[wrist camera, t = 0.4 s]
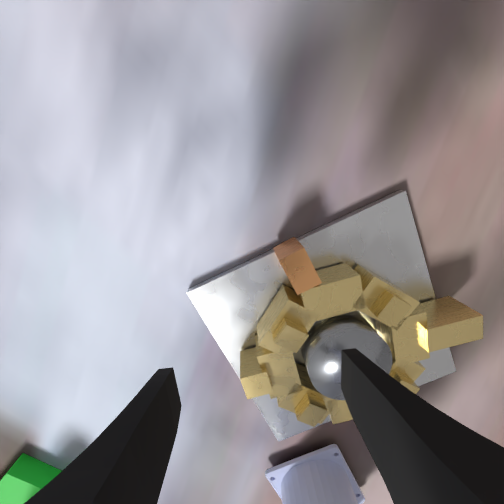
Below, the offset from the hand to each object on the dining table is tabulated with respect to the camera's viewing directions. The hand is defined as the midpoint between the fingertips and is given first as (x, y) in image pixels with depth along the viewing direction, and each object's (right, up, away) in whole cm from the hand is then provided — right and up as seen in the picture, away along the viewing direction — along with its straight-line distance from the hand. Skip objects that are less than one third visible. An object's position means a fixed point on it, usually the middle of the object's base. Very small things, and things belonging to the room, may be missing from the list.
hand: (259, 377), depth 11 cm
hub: (+6, -2, +11) cm, 13 cm away
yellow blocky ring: (+7, -2, +10) cm, 12 cm away
